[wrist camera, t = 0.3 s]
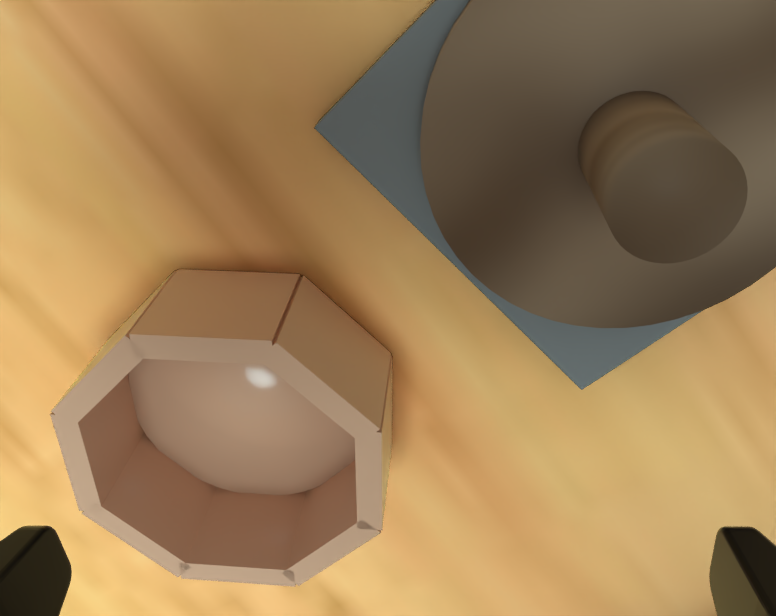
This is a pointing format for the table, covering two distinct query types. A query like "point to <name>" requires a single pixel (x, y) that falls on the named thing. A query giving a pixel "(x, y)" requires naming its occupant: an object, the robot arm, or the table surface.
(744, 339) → the table surface
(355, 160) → the mat
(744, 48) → the lid
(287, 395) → the bowl
